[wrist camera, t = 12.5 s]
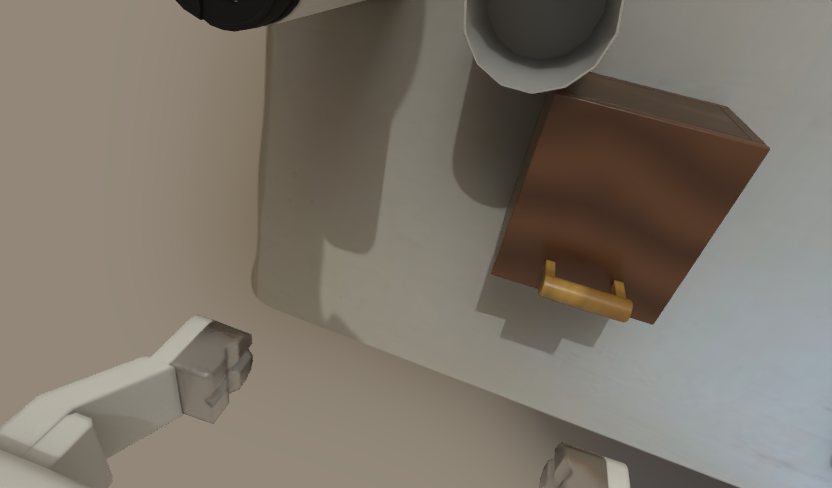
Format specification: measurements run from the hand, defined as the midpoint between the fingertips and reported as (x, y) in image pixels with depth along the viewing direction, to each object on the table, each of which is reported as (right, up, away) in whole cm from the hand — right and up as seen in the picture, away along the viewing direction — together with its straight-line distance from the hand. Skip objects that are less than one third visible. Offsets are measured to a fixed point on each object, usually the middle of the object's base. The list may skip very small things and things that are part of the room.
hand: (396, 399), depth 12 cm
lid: (+14, +6, +20) cm, 25 cm away
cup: (+10, +22, +22) cm, 32 cm away
